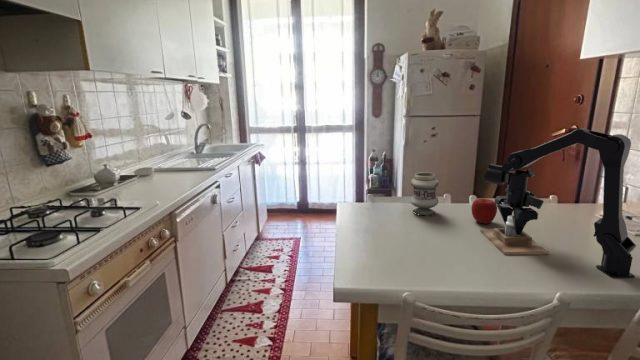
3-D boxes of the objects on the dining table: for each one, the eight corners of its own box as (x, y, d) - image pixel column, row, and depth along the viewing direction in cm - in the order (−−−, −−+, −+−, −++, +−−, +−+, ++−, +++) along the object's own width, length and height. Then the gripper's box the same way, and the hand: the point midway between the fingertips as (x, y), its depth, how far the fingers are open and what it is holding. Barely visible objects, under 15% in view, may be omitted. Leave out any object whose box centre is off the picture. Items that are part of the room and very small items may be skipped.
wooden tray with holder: (547, 254, 114) (549, 244, 113) (503, 254, 115) (505, 244, 114) (517, 231, 134) (518, 222, 133) (480, 231, 134) (480, 223, 134)
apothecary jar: (404, 210, 162) (405, 172, 157) (427, 207, 165) (429, 169, 161) (419, 218, 150) (421, 177, 146) (443, 215, 154) (445, 175, 150)
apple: (501, 224, 141) (503, 200, 139) (483, 228, 138) (485, 203, 136) (482, 217, 150) (484, 194, 147) (465, 220, 146) (466, 197, 144)
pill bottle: (521, 242, 121) (523, 219, 119) (506, 241, 122) (508, 219, 120) (516, 237, 126) (519, 215, 124) (502, 236, 127) (504, 214, 125)
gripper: (558, 194, 110) (551, 240, 114) (526, 180, 128) (522, 220, 132) (521, 195, 111) (516, 241, 114) (495, 181, 129) (492, 221, 132)
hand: (512, 230), depth 123 cm, fingers open, 8 cm apart
